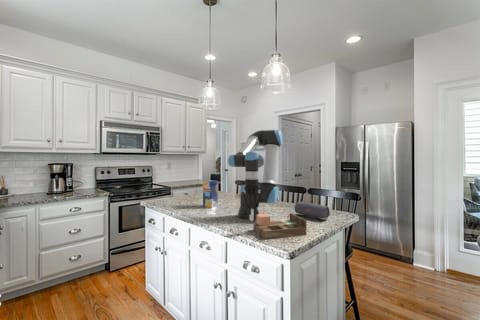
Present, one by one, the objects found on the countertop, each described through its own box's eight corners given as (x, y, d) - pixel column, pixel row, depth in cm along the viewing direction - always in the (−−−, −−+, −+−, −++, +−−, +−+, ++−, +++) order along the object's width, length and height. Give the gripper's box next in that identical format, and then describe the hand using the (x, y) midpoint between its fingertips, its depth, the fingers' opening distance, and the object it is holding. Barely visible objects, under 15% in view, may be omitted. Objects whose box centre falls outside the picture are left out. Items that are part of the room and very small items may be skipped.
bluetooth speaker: (293, 215, 172) (294, 201, 172) (300, 213, 179) (300, 200, 179) (323, 222, 156) (323, 206, 156) (330, 219, 163) (330, 204, 163)
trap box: (253, 229, 139) (253, 216, 139) (291, 225, 147) (291, 213, 147) (264, 239, 123) (264, 223, 123) (306, 234, 131) (306, 220, 131)
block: (256, 223, 138) (256, 214, 138) (265, 222, 140) (265, 213, 140) (260, 226, 133) (260, 217, 133) (270, 225, 135) (270, 216, 135)
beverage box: (208, 205, 207) (208, 179, 207) (217, 206, 200) (217, 180, 199) (202, 206, 202) (202, 180, 201) (211, 208, 195) (211, 181, 194)
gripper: (242, 179, 128) (242, 222, 129) (265, 179, 132) (264, 221, 133) (238, 178, 135) (238, 219, 136) (259, 177, 139) (259, 217, 140)
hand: (251, 220), depth 134 cm, fingers closed
